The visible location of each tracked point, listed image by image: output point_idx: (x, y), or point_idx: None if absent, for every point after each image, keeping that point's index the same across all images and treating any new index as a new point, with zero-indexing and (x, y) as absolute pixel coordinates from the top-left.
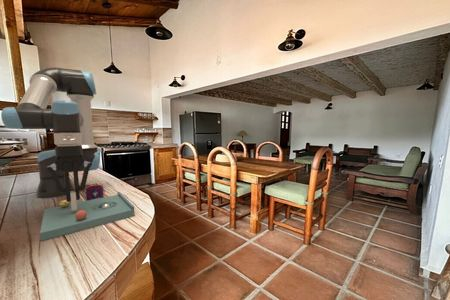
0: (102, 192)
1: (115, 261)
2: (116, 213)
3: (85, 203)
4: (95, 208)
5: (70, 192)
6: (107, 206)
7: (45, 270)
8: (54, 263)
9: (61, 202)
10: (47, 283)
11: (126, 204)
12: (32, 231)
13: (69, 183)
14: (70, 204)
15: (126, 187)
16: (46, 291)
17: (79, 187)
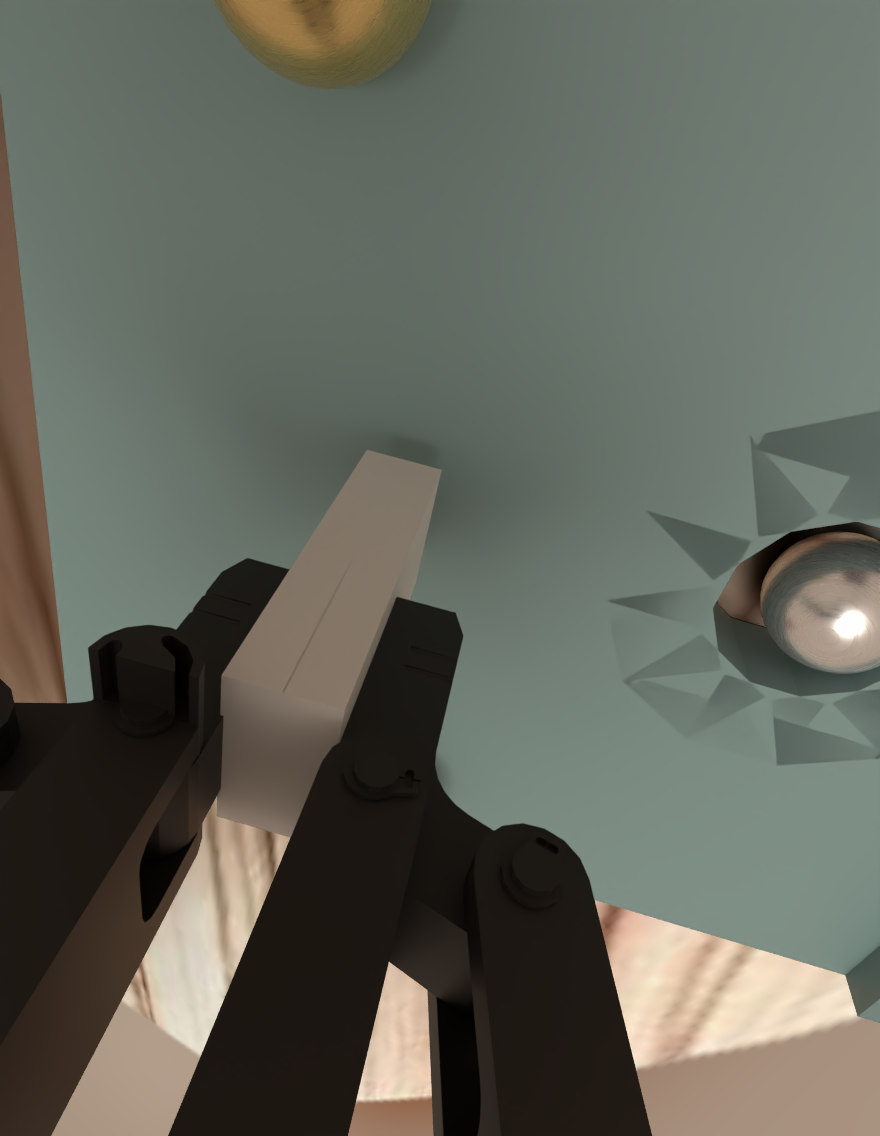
0: None
1: (391, 1085)
2: (691, 918)
3: (772, 89)
4: (674, 604)
5: (224, 776)
6: (830, 671)
7: (162, 949)
8: (194, 939)
9: (221, 4)
10: (172, 1004)
11: None
12: (14, 404)
13: (57, 1107)
14: None
15: None
16: (171, 1025)
17: (396, 944)
